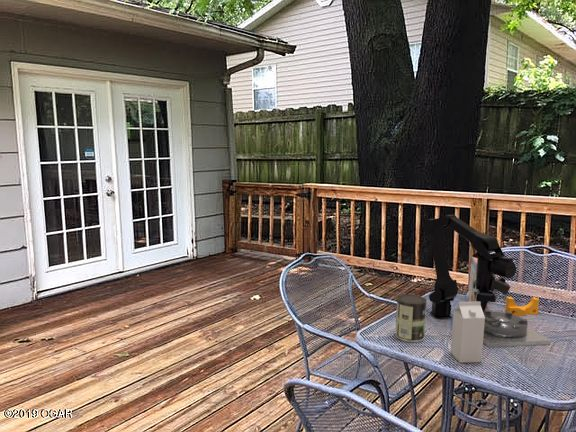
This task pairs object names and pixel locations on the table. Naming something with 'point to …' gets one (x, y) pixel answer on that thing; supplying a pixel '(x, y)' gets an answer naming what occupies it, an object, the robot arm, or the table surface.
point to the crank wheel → (504, 324)
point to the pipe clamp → (522, 311)
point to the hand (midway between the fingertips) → (482, 313)
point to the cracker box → (472, 278)
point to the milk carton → (468, 332)
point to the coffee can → (410, 318)
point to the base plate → (515, 339)
